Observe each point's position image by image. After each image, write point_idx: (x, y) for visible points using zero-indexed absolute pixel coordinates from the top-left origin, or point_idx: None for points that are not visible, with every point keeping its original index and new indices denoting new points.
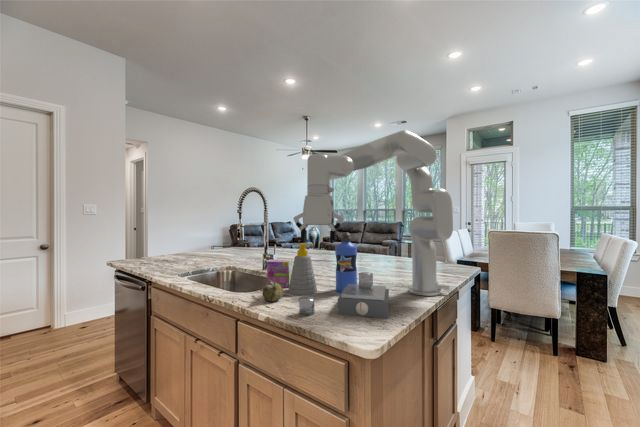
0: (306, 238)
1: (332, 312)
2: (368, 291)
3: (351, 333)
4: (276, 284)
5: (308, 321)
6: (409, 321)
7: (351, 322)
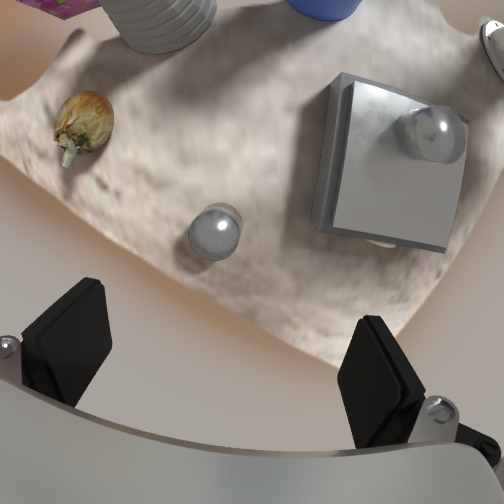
0: (90, 301)
1: (294, 207)
2: (420, 188)
3: (335, 328)
4: (78, 122)
5: (236, 278)
6: (455, 255)
7: (342, 274)
